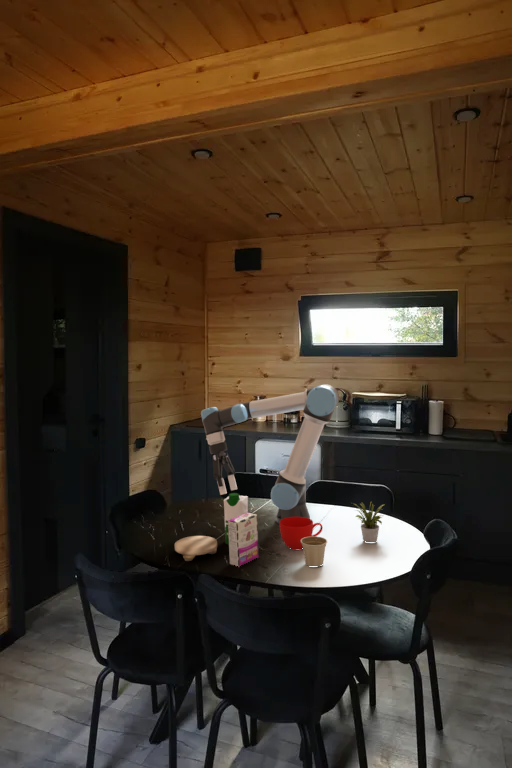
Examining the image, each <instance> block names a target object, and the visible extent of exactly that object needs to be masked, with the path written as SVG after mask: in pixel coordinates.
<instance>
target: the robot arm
mask: <svg viewBox="0 0 512 768" xmlns="http://www.w3.org/2000/svg"><path fill="white" fill-rule="evenodd" d="M339 402H340V393H339V392H338V390H337V389H336V387H334V386H333V385H332V384H328V383H322V384H319V385H316V386H315V387H311V388H306V389H305V391H302V392H297V393H291V394H285V395H280V396H275V397H274V396H273V397H269V398H264V399H263V398H262V399H258V400H252V401H251V400H250V401H246V402H239V403H236V404H234V405H232V406H229V407H225V408H223V409H218V407H216V406H211V407H207V408H204V409H202V410H201V412H200V415H201V421H202V424H203V427H204V432H205V437H206V438H205V440H206V441H207V444H208V445H209V446H208V449H209V453H210V454H211V460H212V471H213V472H212V473H213V474H212V475H213V480H214V481H215V480H216V484H217V487H218V490H219V495H220V496H221V495H226V494H227V493H228V492H227V488H226V484H225V480H224V477H223V468H224V470H225V472H226V473H227V479H228V483H229V489H230V491H231V492H232V491H235V490H238V486H237V482H236V478H235V475H236V471H235V468H234V466H233V464H232V461H231V459H230V455H229V454H228V452H225V451H228V447H227V446H228V445H227V442H226V437H225V433H224V430H223V428H224V427H228V426H232V425H235V424H236V425H237V424H239V423H242V422H245V421H247V420H251V419H255V418H262V417H268V416H273V415H274V416H275V415H281V414H285V413H291V412H296V411H302V414H303V416H304V417H303V420H302V423H301V426H300V428H299V431H298V434H297V436H296V438H295V441H294V444H293V447H292V450H291V452H290V455H289V457H288V460H287V462H286V465H285V468H284V469H283V470H280V471H279V474H278V476H277V479H276V481H275V484H274V486H272V488H271V490H270V491H271V492H270V499H271V502H272V504H273V505H274V506H275V507H276V508H278V509H277V512H276V516H275V521H276V523H277V524H278V525H280V521H281V520H282V519H284V518H287V517H305V518H309V519H311V516H310V515H311V514H310V513H309V509H308V507H307V503H306V502H307V499H306V498H307V497H306V496H307V493H306V490H307V487H306V486H307V485H306V484H307V481H306V472H307V470H308V468H309V466H310V463H311V460H312V457H313V455H314V452H315V450H316V446H317V445H318V442H319V439H320V437H321V434H322V432H323V429H324V427H325V425H327V424H329V423H330V422H331V419H332V416H333V414H334V411H335V409H336V407H337V406H338V404H339Z"/></svg>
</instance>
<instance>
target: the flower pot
mask: <svg viewBox="0 0 512 768" xmlns="http://www.w3.org/2000/svg"><path fill="white" fill-rule="evenodd" d="M301 543H302V546H303V549H302V550H303V556H304V561H305V562H304V563H305V565H306V564H307V565H309V566H319V567H320V565H322V564H323V565H324V559H325V551H326V546H327V543H328V539H326V538H325V537H322V536H318V535H317V536H311V537H305V538H302V539H301ZM307 565H306V566H307ZM323 565H322V566H323Z"/></svg>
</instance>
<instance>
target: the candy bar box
mask: <svg viewBox="0 0 512 768" xmlns="http://www.w3.org/2000/svg"><path fill="white" fill-rule="evenodd" d="M258 528H259V527H258V514H256V513H252V512H248V513H245V514H243V515H240V516H238V517H235V518H232V519H230V520H228V533H229V544H228V552H229V555H228V556H229V565H231V566H234V565H235V566H234V567H237V566H238V568H240V566H241V565H243V566H245V565H246V563H247V564H249V563H251V562H252V560H253V561H254V559H255V560H256V558H257V559H259V558H260V556H259V555H260V553H259V530H258ZM250 561H251V562H250ZM248 562H249V563H248ZM244 564H245V565H244ZM241 567H242V566H241Z"/></svg>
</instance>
